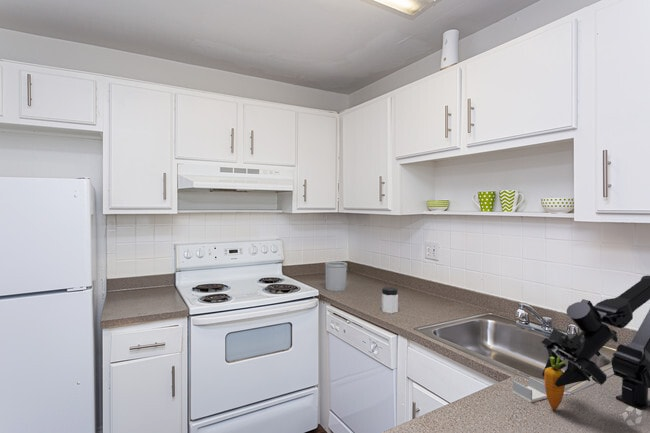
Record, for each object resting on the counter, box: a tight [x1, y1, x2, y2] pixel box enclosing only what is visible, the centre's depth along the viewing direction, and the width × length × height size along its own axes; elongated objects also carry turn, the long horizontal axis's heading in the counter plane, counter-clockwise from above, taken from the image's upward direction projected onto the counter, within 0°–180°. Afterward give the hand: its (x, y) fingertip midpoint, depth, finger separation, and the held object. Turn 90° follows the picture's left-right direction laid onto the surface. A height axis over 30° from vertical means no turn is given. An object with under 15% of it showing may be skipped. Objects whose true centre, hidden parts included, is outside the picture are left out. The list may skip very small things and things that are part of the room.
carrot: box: [543, 357, 566, 411], centre depth 100 cm, size 5×5×15 cm
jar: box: [381, 286, 399, 314], centre depth 195 cm, size 9×8×12 cm
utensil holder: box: [324, 261, 348, 292], centre depth 246 cm, size 15×15×18 cm
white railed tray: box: [512, 376, 548, 403], centre depth 108 cm, size 7×6×4 cm
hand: (549, 380), depth 100 cm, fingers closed on carrot, 5 cm apart
